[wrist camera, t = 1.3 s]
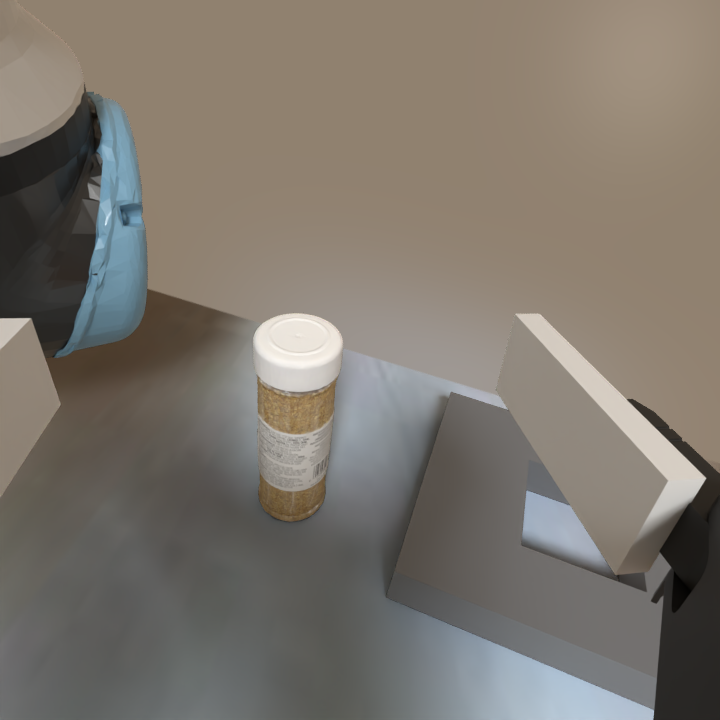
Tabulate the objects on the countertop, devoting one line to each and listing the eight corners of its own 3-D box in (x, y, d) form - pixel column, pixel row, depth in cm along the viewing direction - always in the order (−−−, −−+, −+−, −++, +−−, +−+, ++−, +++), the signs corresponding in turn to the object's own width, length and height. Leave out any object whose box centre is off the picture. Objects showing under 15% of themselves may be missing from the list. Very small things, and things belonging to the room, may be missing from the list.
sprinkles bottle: (290, 457, 34) (297, 300, 26) (339, 492, 33) (362, 335, 24) (243, 497, 31) (232, 333, 23) (293, 539, 30) (301, 376, 21)
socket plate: (385, 597, 27) (396, 563, 25) (442, 418, 40) (453, 384, 37) (766, 757, 23) (822, 735, 21) (699, 503, 36) (729, 471, 33)
